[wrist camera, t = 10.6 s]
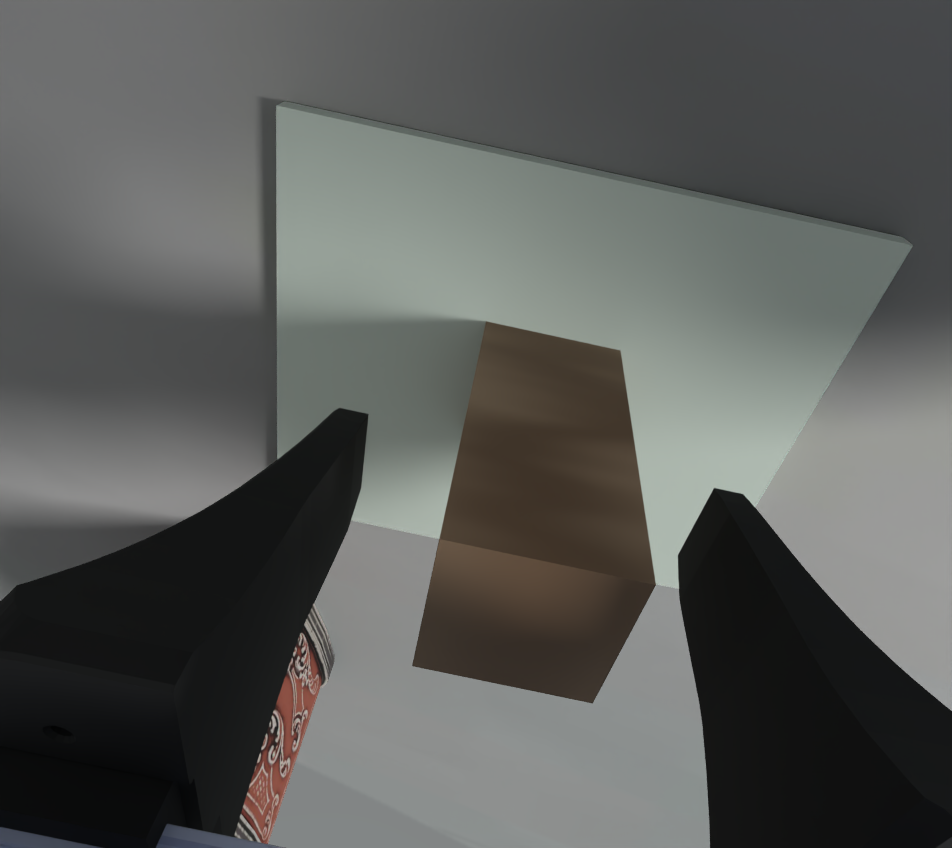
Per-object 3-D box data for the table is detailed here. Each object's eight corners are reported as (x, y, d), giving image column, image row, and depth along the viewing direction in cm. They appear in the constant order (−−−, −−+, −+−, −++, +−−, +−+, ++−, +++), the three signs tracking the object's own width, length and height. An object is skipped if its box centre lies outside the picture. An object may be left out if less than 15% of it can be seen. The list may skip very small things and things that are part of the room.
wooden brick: (620, 350, 15) (656, 584, 9) (582, 455, 17) (592, 703, 11) (485, 321, 15) (439, 538, 9) (462, 429, 17) (412, 665, 11)
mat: (902, 237, 13) (913, 245, 13) (699, 581, 20) (702, 594, 19) (285, 101, 13) (276, 105, 13) (283, 494, 20) (277, 505, 19)
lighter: (170, 526, 21) (-75, 878, 13) (263, 515, 20) (64, 882, 12) (273, 674, 25) (139, 1006, 17) (352, 669, 25) (250, 1014, 17)
